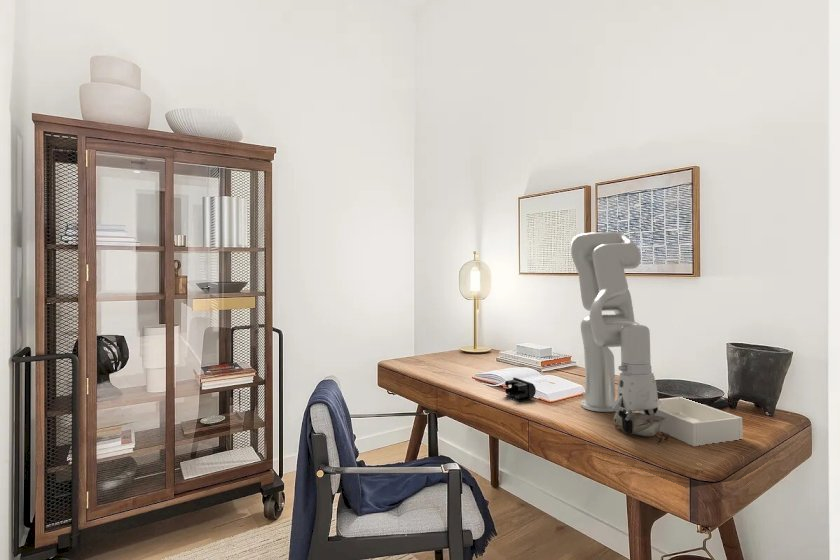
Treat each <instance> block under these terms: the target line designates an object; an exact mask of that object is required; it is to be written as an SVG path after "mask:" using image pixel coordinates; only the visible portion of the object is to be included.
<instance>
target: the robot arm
mask: <svg viewBox="0 0 840 560" xmlns="http://www.w3.org/2000/svg"><path fill="white" fill-rule="evenodd" d="M570 253H571V259H572V261H573V263H574V266H575V269H576V271H577V273H578V281H579V290H580V297H581V302H582V306H583V308H584V310H586V311H589V315H588V316H586V317H584V318H583V319H582V320H581V322H580V332H581V333H580V334H581V337H582V338H581V339H582V343H583V352H584V353H583V357H584V358H583V359H584V380H585V381H584V384H585V388H584V389H585V390H583V391H582V393H581V394H582V395H583V396H584V399H583V400H581V402H580V406H581V407H582V408H583V409H586V410H587V411H592V412H599V413H600V412H601V413H613V412H615V414H616V413H617V414H618V415H619V416H620V417H621V418H622V426H621V427H622V431H623V432H624V433H625V434H627V435H630V436H631V435H632V434H633V433H632V421H631V420H630V417H631V413H632V412H638V411H642V410H643V411H644V413H645V414H647V415H653V416H655V413H656V412H657V411H658V408H659V407H660V406H661V405H662V402H661V401H660V400H659V399H660V398H659V396H658V395H659V394H658V388H657V382H656V377H655V375H654V372H652V365H651V333H650V332H651V331H650V328H649V327H648V326H646V325H643V324H640V323H639V322H636V321H635V315H634V314H635V313H634V307H633V301H632V300H633V299H632V296H631V293H630V290H629V285H628V281H627V278H626V273H625V270H630V269H636V268H637V267H639V266H640V264H641V261H642V258H641V255H642V254H641V252H640V248H639V246H637V244H636V242H634V240H632V239H631V238H629V237H628V235H625V234H624V233H622V232H617V231H611V232H610V231H606V232H605V231H603V232H587V233H586V232H585V233H580V234H577V235H576V236H574V237H573V238H572V240H571V244H570ZM602 312H614V314H603V313H602ZM611 348H620V356H621V357H620V360H621V361H620V363H621V365H618V368H617V369H618V371H620V373H619V375H618V376H619V377H618V383H617V399H616V375H615V372H616V371H615V356H614V353H613V351H612V350H611ZM626 411H627V412H626Z"/></svg>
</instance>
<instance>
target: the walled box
mask: <svg viewBox="0 0 840 560" xmlns="http://www.w3.org/2000/svg"><path fill="white" fill-rule="evenodd" d="M658 399H659V400H660V401H661V402H662V405H661V406H660V407H659V408H658V411H657V412H656V413H655V416H657V415H658V416H663V417H666V418H665V420H663V421H661V426H660V430H661V431H662V433H663V434H666V435H667V434H668V436H671V437H673V438H674V439H677V440H679V441H681V442H683V443H685V444H688V445H689V446H692V447H698V446H699V445H700V446H706V445H705V444H708V445H713V444H712V443H715V444H720V443H719V442H723V443H725V442H724V441H730V442H733V441H732V440H738V441H740V440H739V439H744V437H743V435H744V434H743V433H744V432H743V417H742V416H738V415H735V414H733V413H729V412H726V411H723V410H721V409H719V408H712V407H709V406H706V405H703V404H701V403H698V402H695V401H692V400H689V399H686V398H683V397H679V396H676V397H675V396H674V397H666V398H658ZM637 413H642V414H645V413H644V411H643V410H642V411H637ZM700 446H699V447H700Z"/></svg>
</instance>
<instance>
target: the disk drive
mask: <svg viewBox="0 0 840 560" xmlns="http://www.w3.org/2000/svg"><path fill="white" fill-rule="evenodd" d="M691 394H692V393H688V394H687V395H691ZM720 397H721V398H720V399H718V400H717V401H715V402H714V403H713V404H711V405H708V404H703V405H706V406H709V407H712V408H715V409H719V408H722V407H723V408H724V407H726V406H729V405H728V399H729V398H728V397H724V396H720Z"/></svg>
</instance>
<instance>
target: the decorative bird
mask: <svg viewBox="0 0 840 560" xmlns="http://www.w3.org/2000/svg"><path fill="white" fill-rule="evenodd" d="M626 412H627V411H626ZM665 418H666V417H663V416H658V415H657V416H653V415H647V414H642V413H638V412H637V411H632V413H631V417H630V420H631V421H632V434H634V435H638V436H643V437H653V436H655V438H656V439H658V441H657V442H656V444H659V443H662V442H663V443H664V442H666V441H667V442H668V439H669V435H668V434H666V435H664V432H662V431H661V430H660V426H661V421H663V420H665ZM613 424H614V427H615V429H617V428H620V427H622V418H621V417H620V416H619V415H618V414H617V413H616V412H615V413H614V416H613ZM658 432H659V434H661V436H660V437H658V436H657V433H658ZM663 437H664V439H662V438H663Z"/></svg>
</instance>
